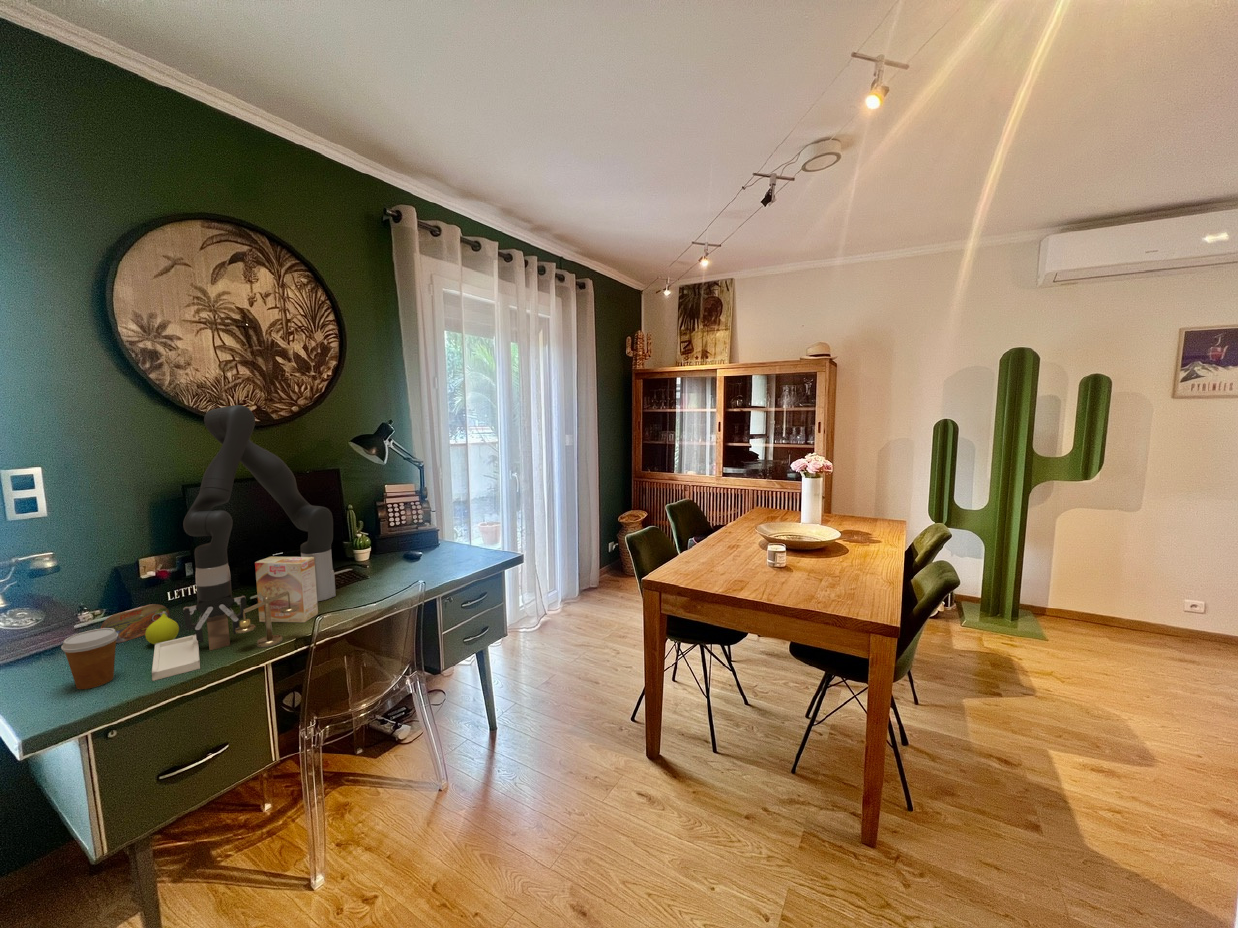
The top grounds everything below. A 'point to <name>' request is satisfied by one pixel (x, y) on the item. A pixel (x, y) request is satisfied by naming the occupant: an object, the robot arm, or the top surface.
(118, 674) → the top surface
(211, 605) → the robot arm
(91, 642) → the disposable coffee cup
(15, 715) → the top surface
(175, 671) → the dish
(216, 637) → the block
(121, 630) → the tin
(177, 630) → the ornament
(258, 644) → the balance
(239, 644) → the top surface
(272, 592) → the coffeecake box
